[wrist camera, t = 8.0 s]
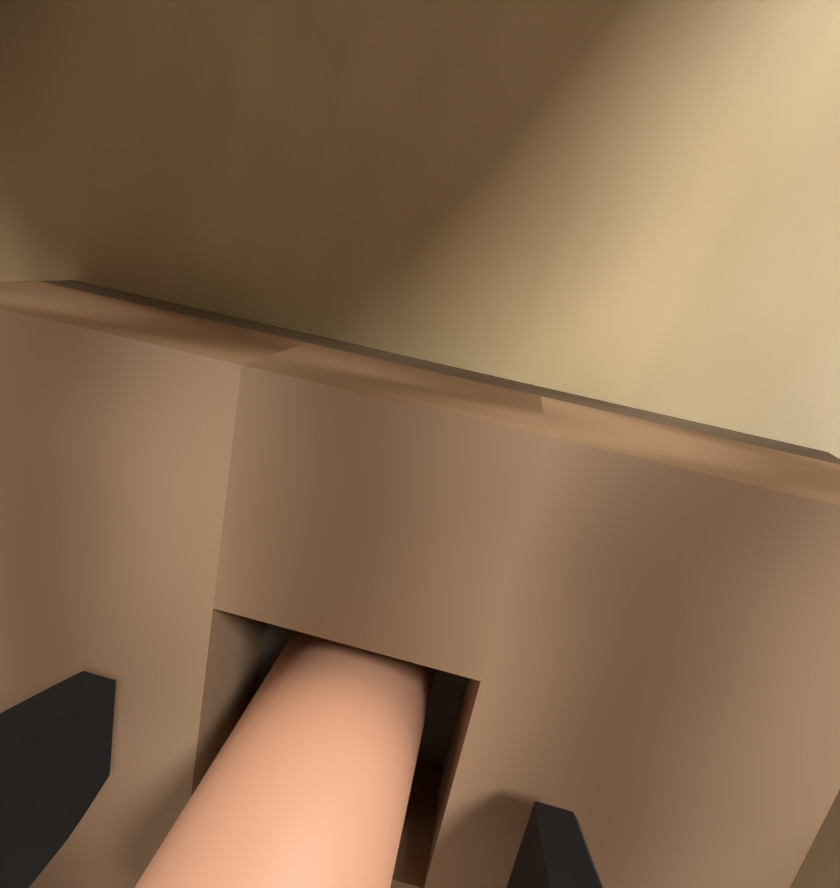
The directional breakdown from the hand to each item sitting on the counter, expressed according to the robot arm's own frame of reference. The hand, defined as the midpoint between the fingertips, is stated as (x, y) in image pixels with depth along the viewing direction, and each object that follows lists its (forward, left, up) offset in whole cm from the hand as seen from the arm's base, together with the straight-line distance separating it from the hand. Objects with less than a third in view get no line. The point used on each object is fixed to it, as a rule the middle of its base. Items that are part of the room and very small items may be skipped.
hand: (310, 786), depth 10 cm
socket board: (0, 0, -5) cm, 5 cm away
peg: (0, 0, -4) cm, 4 cm away
